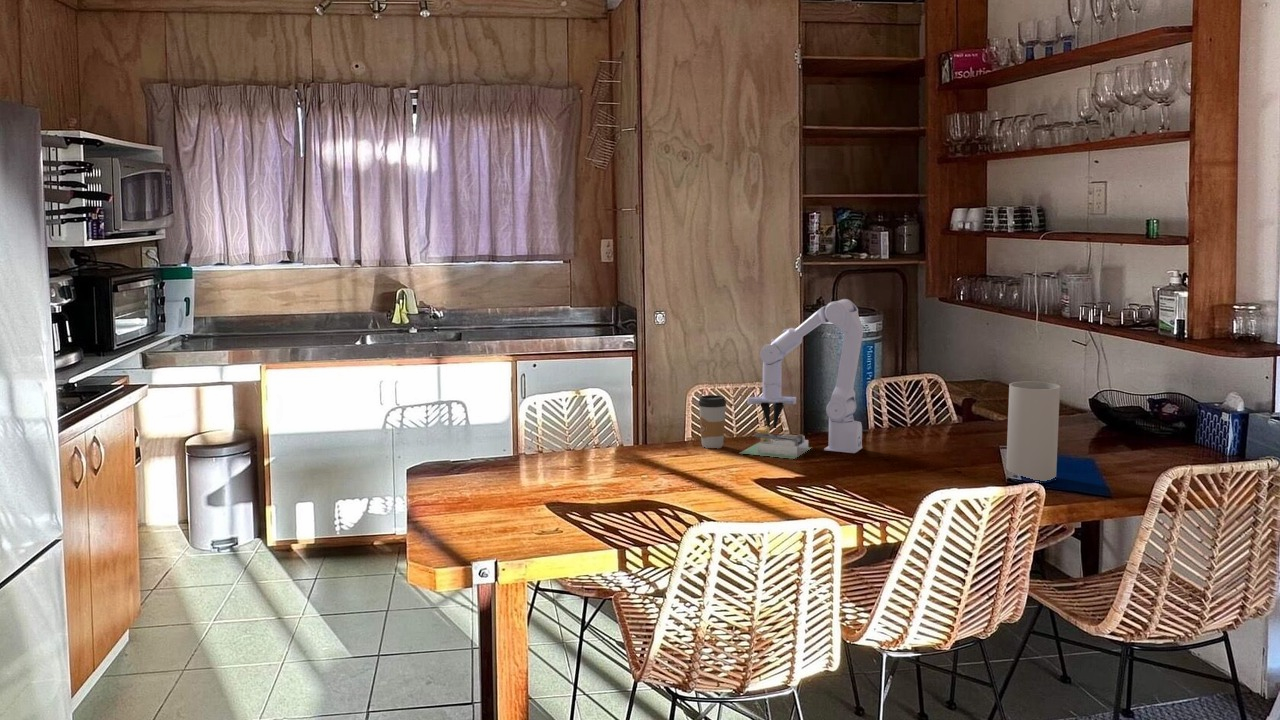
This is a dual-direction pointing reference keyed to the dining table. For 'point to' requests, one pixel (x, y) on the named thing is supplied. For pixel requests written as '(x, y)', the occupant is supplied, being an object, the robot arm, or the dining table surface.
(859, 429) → the robot arm
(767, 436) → the strap
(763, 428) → the latch
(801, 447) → the heatsink block
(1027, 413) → the cylinder vase
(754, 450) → the pcb mat
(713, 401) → the coffee cup
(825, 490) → the dining table surface
